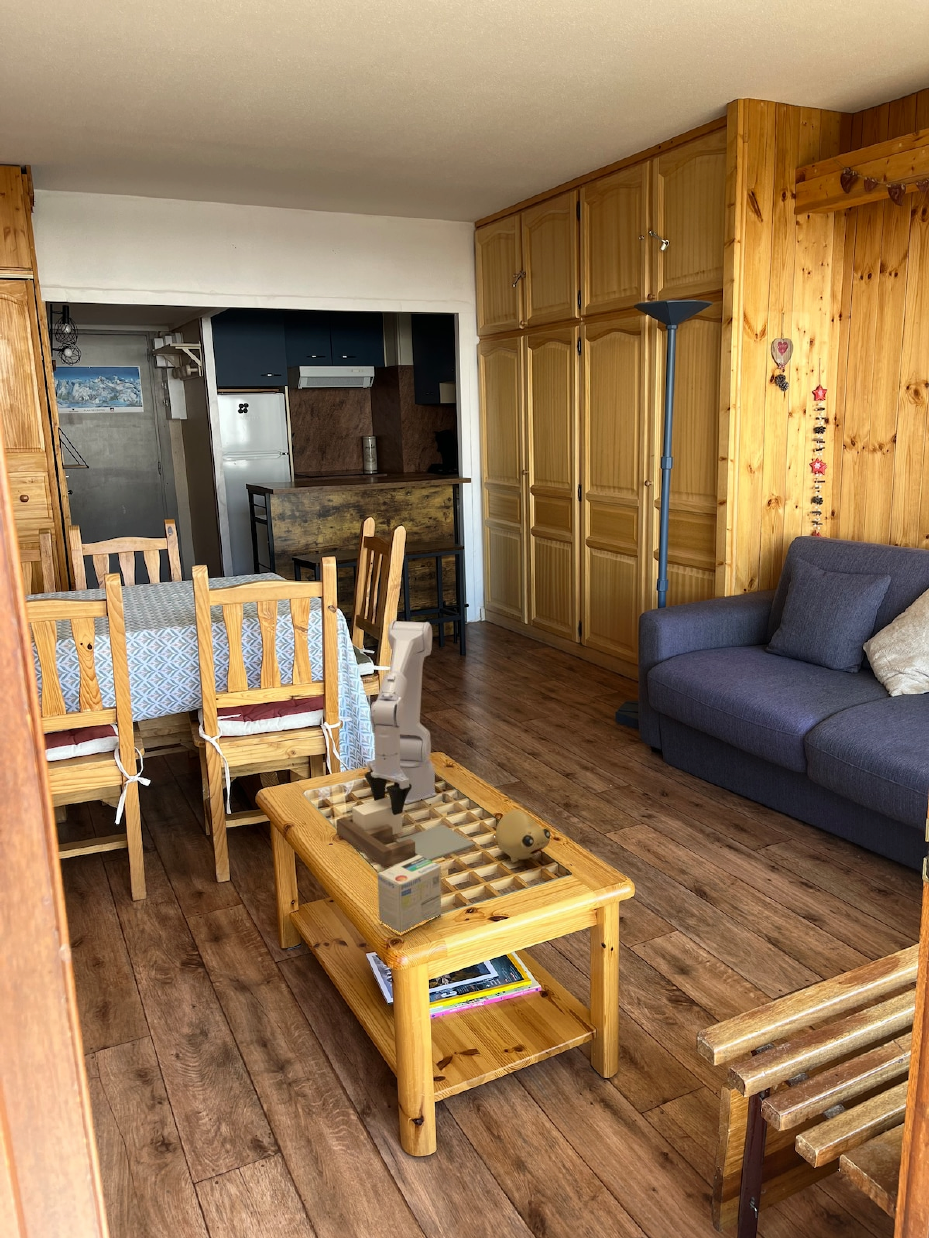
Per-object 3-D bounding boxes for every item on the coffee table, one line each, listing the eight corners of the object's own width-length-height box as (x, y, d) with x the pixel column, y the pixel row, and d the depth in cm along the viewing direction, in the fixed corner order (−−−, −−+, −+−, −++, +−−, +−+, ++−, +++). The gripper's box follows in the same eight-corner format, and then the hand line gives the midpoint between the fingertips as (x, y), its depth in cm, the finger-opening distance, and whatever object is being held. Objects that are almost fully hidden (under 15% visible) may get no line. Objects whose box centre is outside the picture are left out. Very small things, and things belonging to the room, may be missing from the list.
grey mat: (443, 826, 221) (443, 824, 220) (474, 845, 211) (474, 843, 211) (395, 841, 213) (395, 839, 213) (426, 862, 204) (426, 860, 203)
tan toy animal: (522, 876, 198) (523, 828, 195) (487, 854, 207) (487, 809, 205) (558, 862, 203) (559, 816, 201) (522, 842, 213) (522, 797, 210)
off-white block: (390, 824, 222) (389, 796, 220) (402, 832, 218) (401, 803, 216) (353, 836, 216) (352, 807, 214) (364, 844, 212) (363, 814, 211)
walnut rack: (367, 824, 222) (366, 810, 221) (415, 856, 206) (415, 841, 205) (336, 833, 217) (336, 819, 216) (383, 867, 201) (383, 852, 201)
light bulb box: (419, 903, 187) (418, 852, 185) (442, 916, 183) (442, 864, 180) (377, 923, 180) (375, 871, 178) (400, 937, 175) (399, 884, 173)
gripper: (355, 746, 218) (356, 801, 221) (389, 765, 206) (390, 823, 209) (381, 739, 222) (382, 794, 225) (416, 758, 211) (417, 815, 214)
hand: (388, 807), depth 217 cm, fingers open, 7 cm apart
